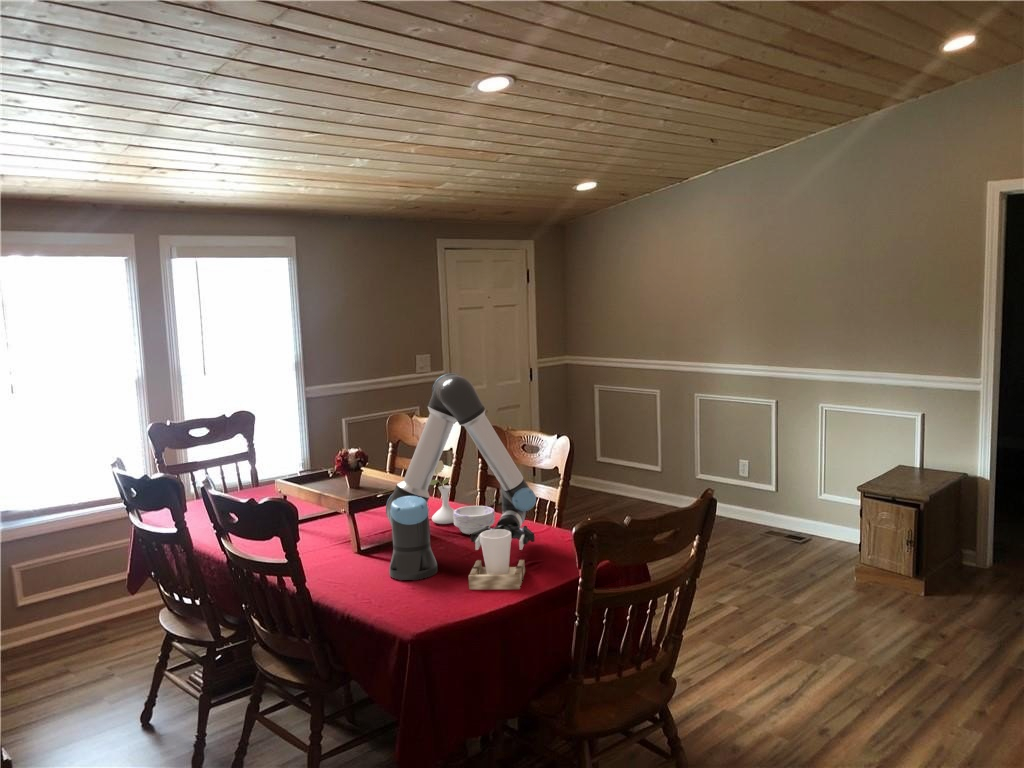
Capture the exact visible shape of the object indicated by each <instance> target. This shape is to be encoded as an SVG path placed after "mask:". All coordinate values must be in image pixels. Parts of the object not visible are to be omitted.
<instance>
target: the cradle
mask: <svg viewBox="0 0 1024 768" xmlns="http://www.w3.org/2000/svg"><path fill="white" fill-rule="evenodd" d="M525 565H526V564H525V559H519V560H518V564H517V566H509V572H508V574H487V572H486V567H485V566H483V565H482V560H481V559H477V560H476V561H475V563H474V565H473V567H471V569H470V573H469V574H468V577H467V578H468V589H469V590H520V589H521V587H520V586H522V583H523V581H524V576H525V573H526V567H525ZM522 580H523V581H522Z"/></svg>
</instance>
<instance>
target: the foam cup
mask: <svg viewBox="0 0 1024 768" xmlns="http://www.w3.org/2000/svg"><path fill="white" fill-rule="evenodd" d="M491 529H492V528H491ZM512 540H513V539H512V538H511V532H510V531H508V530H505V529H492V530H487V531H484V532H481V534H480V543H481V546H480V547H481V550H482V556H483V561H484V567H486V572H487V574H508V572H509V567H510V559H511V558H510V556H511V546H512V544H511V543H512Z"/></svg>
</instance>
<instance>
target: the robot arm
mask: <svg viewBox="0 0 1024 768" xmlns="http://www.w3.org/2000/svg"><path fill="white" fill-rule="evenodd" d="M431 391H432V392H431V398H430V399H429V402H428V405H427V409H428V412H429V414H428V417H427V420H426V422H425V425H424V427H423V430H422V432H421V434H420V437H419V440H418V442H417V445H416V447H415V449H414V453H413V456H412V458H411V460H410V463H409V464H408V465H409V466H408V468H407V469H406V473H405V475H404V478H403V480H402V481H400V482H397V483H396V486H395V488H394V491H393V492H392V494H391V495H390V496H389V498H387V501H386V505H385V513H386V514H385V515H386V518H387V519H388V521H389V523H390V525H391V534H392V535H391V536H392V547H393V548H392V549H393V550H392V556H391V560H390V563H389V568H388V570H389V571H388V572H389V573H388V574H389V577H390V576H391V577H392V578H391V577H390V578H391V579H393V578H395V579H394V580H396V579H399V580H398V581H402V580H413V581H420V580H424V579H423V578H425V579H428V578H431V577H433V576H434V575H436V574H437V573H438V570H439V568H438V562H437V560H436V557H435V555H434V553H433V550H432V547H431V535H430V534H431V532H430V519H429V518H430V517H429V512H430V510H429V509H430V508H429V506H428V502H429V499H430V496H431V495H430V493H429V491H428V490H429V487H430V482H431V480H433V476H435V475H434V472H435V469H436V467H437V464H438V462H439V461H440V459H441V456H442V454H443V452H444V449H445V446H446V445H447V441H448V439H449V436H450V434H451V431H452V429H453V427H454V424H455V423H456V422H457V423H458V424H459V426H462V427H464V429H465V430H466V432H467V433H468V435H469V436H470V438H471V439H472V441H473V443H474V445H475V446H476V448H477V449H478V451H479V453H480V454H481V456H482V457H483V459H484V460H485V462H486V464H487V465H488V467H489V468H490V470H491V472H492V473H493V474H494V475H493V476H494V477H495V478H496V480H497V481H498V483H499V485H500V497H501V513H502V514H501V516H500V517H499V519H498V520H497V523H496V525H495V526H494V527H492V528H491V526H490V527H489V526H486V527H485V528H483V529H481V530H479V531H476V532H474V533H472V534H471V535H470V541H471V542H472V543H473V544H474V546H475V547H474V548H475V549H474V550H475V551H478V550H479V549H480V548H481V547H482V546H481V543H480V534H481V532H484V531H487V530H492V529H505V530H508V531H510V532H511V538H512V540H515V539H517V540H519V541H518V546H519V550H521V551H523V548H524V545H527V544H528V543H530V542H531V543H534V542H535V539H536V538H535V533H534V531H532V530H530V529H529V528H528V525H523V524H524V522H525V520H526V515H527V512H528V511H530V510H531V509H533V508H534V507H535V506H536V501H537V496H536V494H535V493H534V490H532V489H531V487H530V486H529V485H528V483H527V481H526V480H525V479H524V476H523V474H522V472H521V471H520V470H519V468H518V467H517V465H516V464H515V462H514V460H513V458H512V457H511V455H510V453H509V451H508V450H507V448H506V446H505V445H504V444H503V442H502V440H501V439H500V437H499V435H498V433H497V432H496V430H495V429H494V426H492V423H491V422H490V421H489V419H488V417H487V415H486V408H485V405H484V404H483V402H482V400H481V399H480V396H479V395H478V392H477V390H476V389H475V387H474V385H473V383H472V382H471V381H470V380H468V378H466V377H464V376H461V375H460V374H457V373H445V374H443V375H441V376H439V377H438V378H437V379H436V380H435V381H434V383H433V386H432V390H431ZM522 525H523V526H522ZM427 577H428V578H427ZM419 579H420V580H419Z"/></svg>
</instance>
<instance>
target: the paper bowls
mask: <svg viewBox="0 0 1024 768" xmlns="http://www.w3.org/2000/svg"><path fill="white" fill-rule="evenodd" d="M495 515H496V512H495V509H494V508H493V507H491V506H487V505H467V506H461V507H458V508H456V509H454V512H453V516H454V518H453V519H454V523H453V525H454V526H455V527H456V528H458V529H459V531H460V532H462V534H465V535H470V534H472V533H474V532H476V531H479V530H481V529H483V528H485V527H486V526H489V527H490V528H491V527H492V526H493V525H494V524H495V522H496V520H495V519H496V518H495V517H496V516H495Z"/></svg>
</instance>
